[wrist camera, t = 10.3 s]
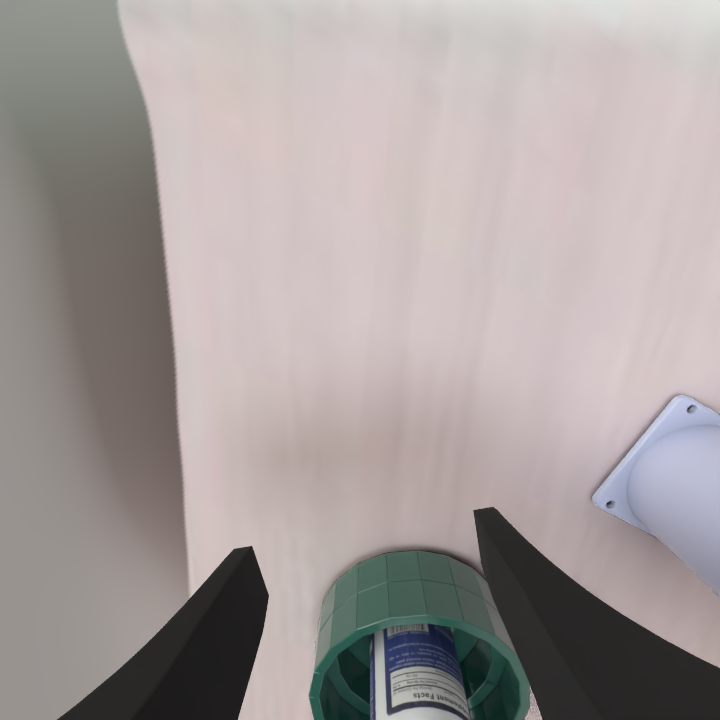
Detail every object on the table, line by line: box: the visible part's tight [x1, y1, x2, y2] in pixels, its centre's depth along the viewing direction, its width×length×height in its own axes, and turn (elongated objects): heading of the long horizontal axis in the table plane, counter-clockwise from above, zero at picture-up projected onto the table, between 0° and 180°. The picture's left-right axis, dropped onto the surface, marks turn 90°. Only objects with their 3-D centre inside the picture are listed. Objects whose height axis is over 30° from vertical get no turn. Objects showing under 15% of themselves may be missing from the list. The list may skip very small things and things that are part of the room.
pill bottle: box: [370, 624, 472, 720], centre depth 21 cm, size 5×5×10 cm
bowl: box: [309, 550, 530, 720], centre depth 24 cm, size 12×12×5 cm
